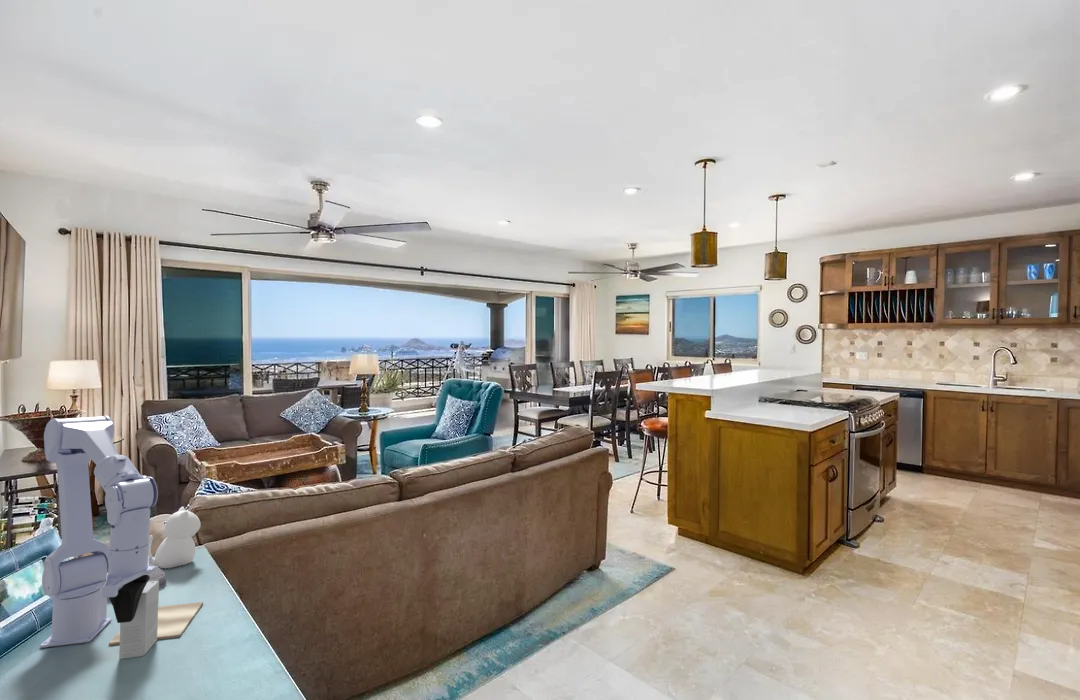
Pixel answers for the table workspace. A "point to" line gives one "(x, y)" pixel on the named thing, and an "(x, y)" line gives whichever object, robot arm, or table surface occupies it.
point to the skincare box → (141, 624)
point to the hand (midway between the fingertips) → (125, 620)
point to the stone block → (157, 576)
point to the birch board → (171, 620)
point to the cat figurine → (176, 540)
